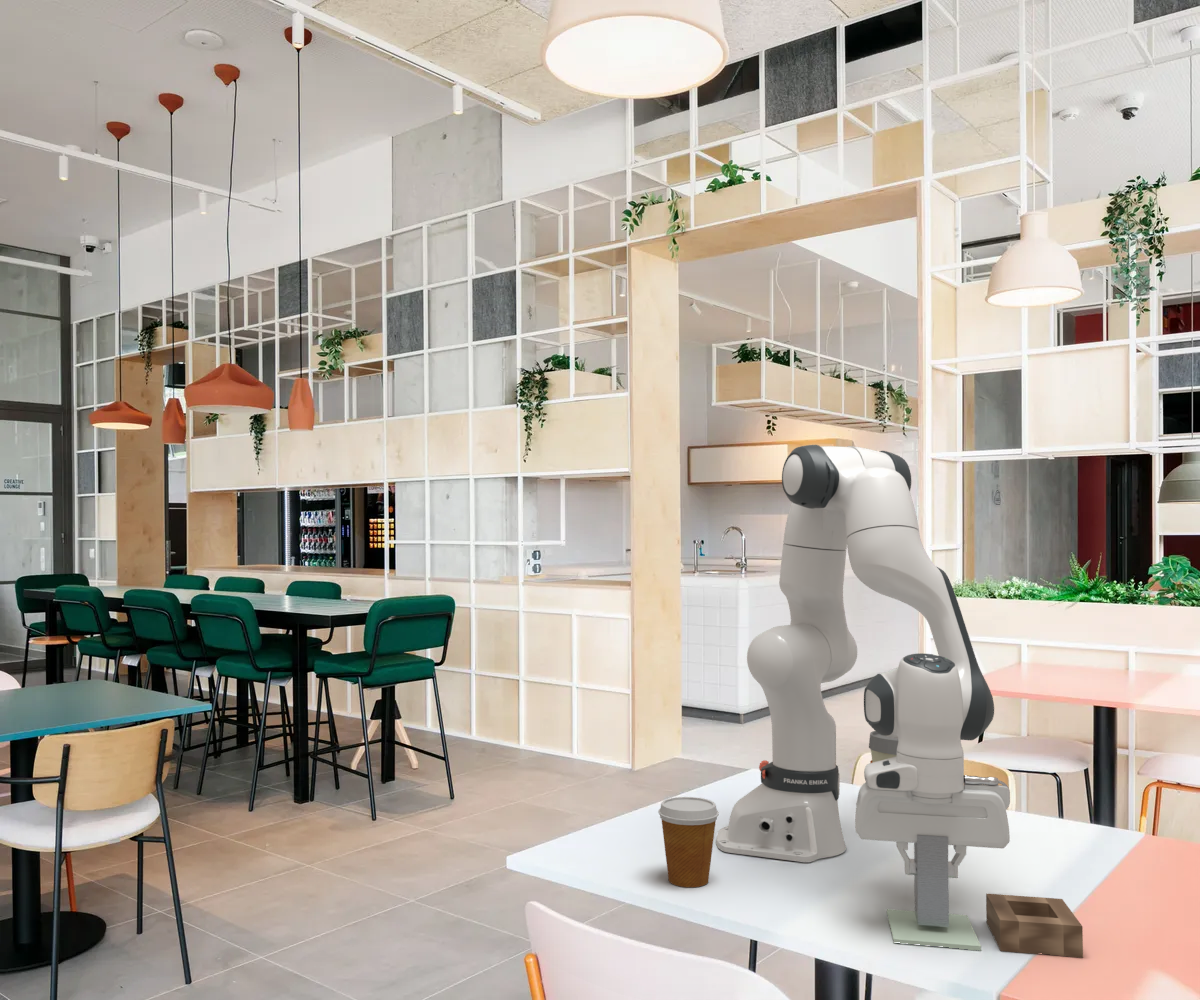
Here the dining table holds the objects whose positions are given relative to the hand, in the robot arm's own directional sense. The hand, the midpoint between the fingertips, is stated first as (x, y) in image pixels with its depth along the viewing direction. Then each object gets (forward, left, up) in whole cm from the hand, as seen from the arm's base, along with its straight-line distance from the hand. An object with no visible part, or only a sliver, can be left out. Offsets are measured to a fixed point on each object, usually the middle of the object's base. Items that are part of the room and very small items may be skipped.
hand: (930, 875), depth 135 cm
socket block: (+13, 0, -8) cm, 15 cm away
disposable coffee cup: (-35, +13, -8) cm, 38 cm away
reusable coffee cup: (+2, +63, -8) cm, 63 cm away
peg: (0, 0, -6) cm, 6 cm away
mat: (0, 0, -8) cm, 8 cm away
